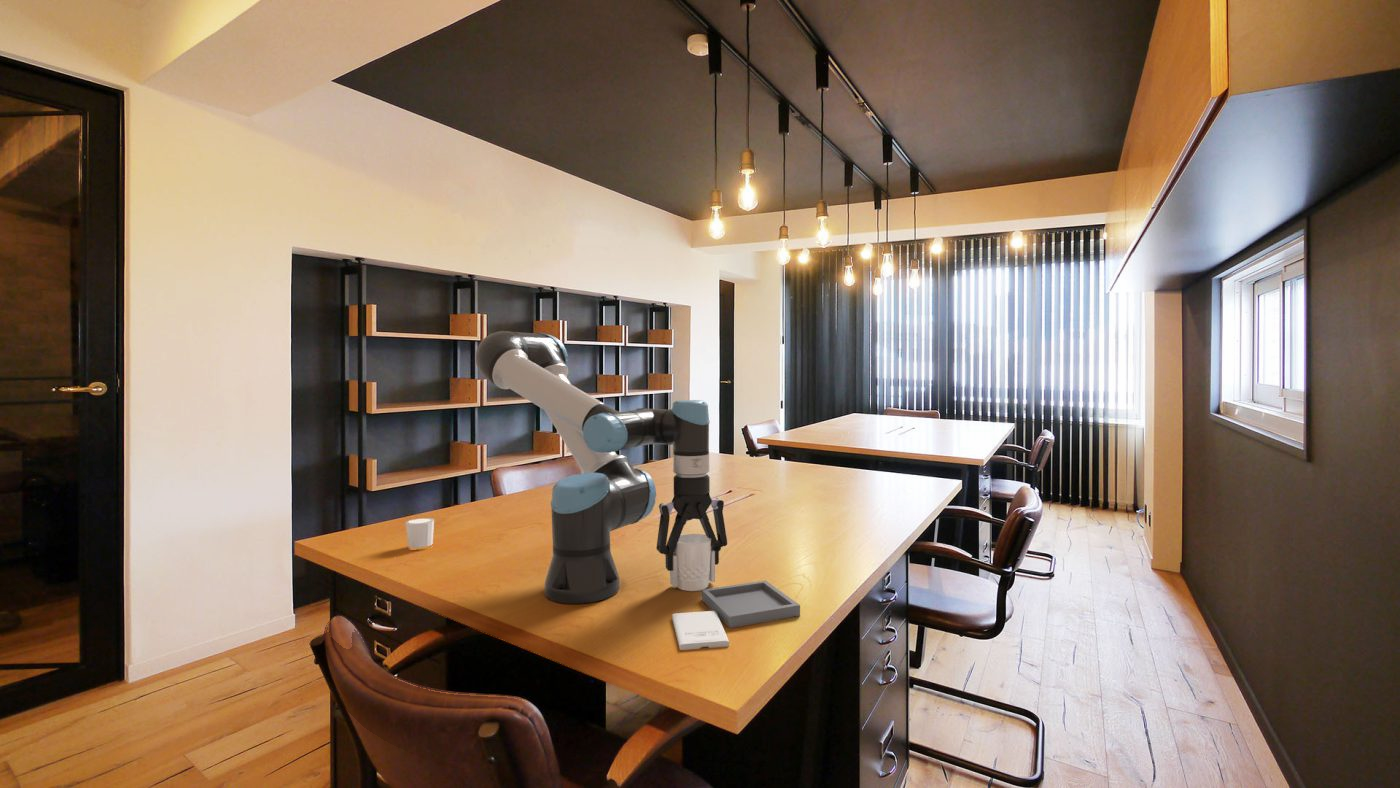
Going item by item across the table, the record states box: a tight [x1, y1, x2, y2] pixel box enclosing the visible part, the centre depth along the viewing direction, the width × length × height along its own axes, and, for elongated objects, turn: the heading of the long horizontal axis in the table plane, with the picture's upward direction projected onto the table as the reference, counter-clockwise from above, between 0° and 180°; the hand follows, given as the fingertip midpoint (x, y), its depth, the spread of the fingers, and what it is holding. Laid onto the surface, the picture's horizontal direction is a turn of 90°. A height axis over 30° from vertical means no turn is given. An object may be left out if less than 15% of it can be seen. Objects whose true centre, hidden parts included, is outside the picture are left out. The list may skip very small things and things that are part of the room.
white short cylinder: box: [405, 517, 435, 548], centre depth 157 cm, size 7×7×7 cm
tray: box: [701, 580, 801, 629], centre depth 115 cm, size 14×14×2 cm
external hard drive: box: [671, 610, 730, 651], centre depth 104 cm, size 2×8×12 cm
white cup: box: [674, 533, 711, 592], centre depth 126 cm, size 8×8×10 cm
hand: (692, 582), depth 127 cm, fingers closed on white cup, 8 cm apart
